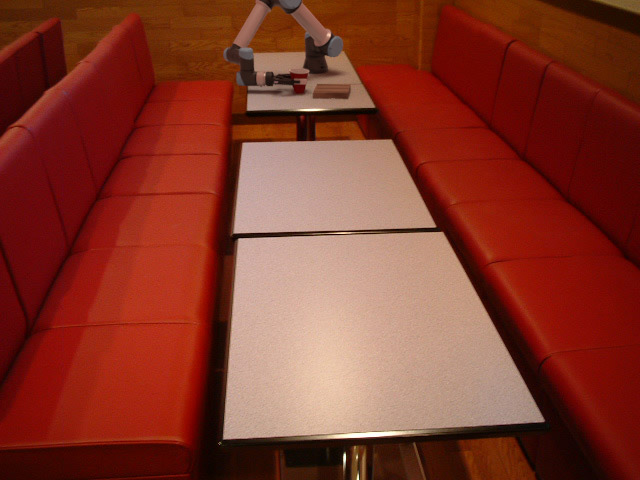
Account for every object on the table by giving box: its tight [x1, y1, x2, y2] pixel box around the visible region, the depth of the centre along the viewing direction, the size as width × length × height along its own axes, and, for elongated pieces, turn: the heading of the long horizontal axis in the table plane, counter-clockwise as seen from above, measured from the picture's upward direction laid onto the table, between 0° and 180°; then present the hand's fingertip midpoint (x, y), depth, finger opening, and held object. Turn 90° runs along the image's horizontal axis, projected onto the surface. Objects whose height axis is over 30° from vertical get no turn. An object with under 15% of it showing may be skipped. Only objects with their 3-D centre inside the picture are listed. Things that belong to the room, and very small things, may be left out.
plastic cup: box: [288, 67, 309, 95], centre depth 335 cm, size 11×11×12 cm
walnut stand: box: [312, 83, 352, 100], centre depth 333 cm, size 18×18×3 cm
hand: (308, 79), depth 334 cm, fingers closed on plastic cup, 9 cm apart
